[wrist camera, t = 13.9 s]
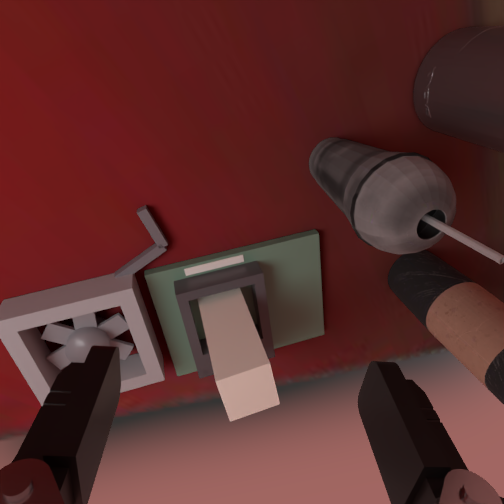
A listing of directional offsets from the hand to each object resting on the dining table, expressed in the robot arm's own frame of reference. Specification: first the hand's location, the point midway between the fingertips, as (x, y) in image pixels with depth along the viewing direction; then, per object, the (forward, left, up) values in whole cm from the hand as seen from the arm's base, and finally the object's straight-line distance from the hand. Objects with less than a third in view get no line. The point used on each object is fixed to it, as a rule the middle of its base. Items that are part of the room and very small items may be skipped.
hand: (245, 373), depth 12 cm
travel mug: (-24, +19, -26) cm, 40 cm away
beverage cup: (-14, +3, -26) cm, 30 cm away
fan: (+11, +12, -26) cm, 30 cm away
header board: (-3, +17, -26) cm, 31 cm away
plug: (-1, +16, -25) cm, 29 cm away
